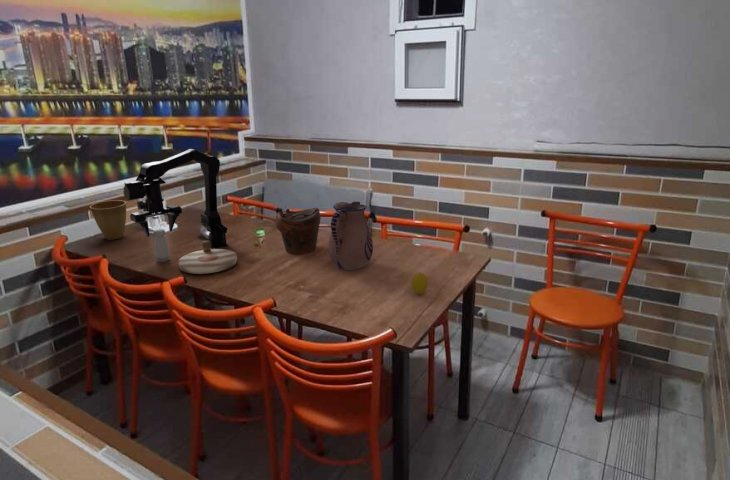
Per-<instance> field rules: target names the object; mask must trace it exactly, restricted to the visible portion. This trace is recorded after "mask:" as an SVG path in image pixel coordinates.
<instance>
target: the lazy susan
mask: <svg viewBox="0 0 730 480" xmlns="http://www.w3.org/2000/svg"><path fill="white" fill-rule="evenodd" d="M201 242H202V249H201V250H200V249H199V250H196V251H193V252H190V253H186V254H185V255H183V256H182V257H180V258H179V259H178V267H179V269H180V270H181V271H182V272H184V273H187V274H194V275H195V274H197V275H198V274H199V275H203V274H212V273H218V272H221V271H225V270H228V269H230V268H232V267H234V266H235V265H236V264H237V262H238V256H237V253H236V252H234V251H233V250H230V249H223V248H212V247H211V246H210V241H209V240H204V241H201Z"/></svg>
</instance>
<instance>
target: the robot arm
mask: <svg viewBox="0 0 730 480" xmlns="http://www.w3.org/2000/svg"><path fill="white" fill-rule="evenodd" d="M192 161H194V162H196V163H198V164H200V170H201V172H202V175H203V178H204V198H205V199H204V200H205V201H204V202H205V203H204V204H205V211H204V212H203V213H200V220H201V221H200V223H201V224H202V227H203V228H204V229H206V231H207V232H208V241H210V246H211V248H212V249H221V248H223V247H227V246H229V243H227V235H226V234H227V232H228V227H226V226H225V225H224V224H222V218H221V216H220V213H219V211H218V196H217V193H218V189H217V186H218V185H217V176H218V175H219V173H220V168H221V160H220V159H219V158H218V157H217V156H215V155H210V154H205V153H202V152H200V151H199V150H197V149H193V148H189V149H187V150H185V151H182V152H179V153H178V154H175V155H173V156H169V157H168V158H165V159H162V160H159V161H151V162H146V163H143V164H142V165H140V169H139V174H138V175H137V177H136V179H135V181H131V182H129V181H128V182H127V181H126V182H123V183H124V184H123V185H124V186H123V190H122V191H123V195H124V199H125V200H126V201H128V202H129V201H135V200H139V199H140V201H137V202H136V204H137V205H136V206H137V209H138V211H135V212H131V213H130V215H129V218H130V221H132V222H134V223H137V224H138V225H140V227H141V228H142V229H143V231H144V233H145V234H146V236H147V237H148V238H149V237H150V229H149V223H148V221H147V218H151V217H157V216H162V215H166V216H167V219H168V229H169V232H173V229H174V226H175V222H176V221H177V219H178V217H179V216H180V214H183V210H182V209H183V208H182V207H181V206H179V205H177V204H171V205H167V206H166V208H164V207H165V206H164V202H165V200H164V199H165V198H163V195H162V187H161V185H164V184H166V181H165V180H163V179H162V177H163V176H164V175H166V173H167V172H168V171H171V170H173V169H175V168H177V167H180V166H181V165H185V164H187V163H190V162H192ZM144 198H145V199H144ZM141 199H144V201H145V202H144V201H143V200H141ZM139 210H140V211H139ZM141 210H143V212H142V211H141Z"/></svg>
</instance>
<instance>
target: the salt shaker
mask: <svg viewBox="0 0 730 480" xmlns="http://www.w3.org/2000/svg"><path fill="white" fill-rule="evenodd" d="M165 235H166V231H165V229H163V228H159V229H155V230H153V237H155V245H154V246H155V248H154V257H155V259H156V260H157V261H158V263H159V262H160V263H163V262H164V263H165V262H168V261H169V260H170V257H171V252H170V249H169V246H168V242H167V241H166V238H165V237H166V236H165Z"/></svg>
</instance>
